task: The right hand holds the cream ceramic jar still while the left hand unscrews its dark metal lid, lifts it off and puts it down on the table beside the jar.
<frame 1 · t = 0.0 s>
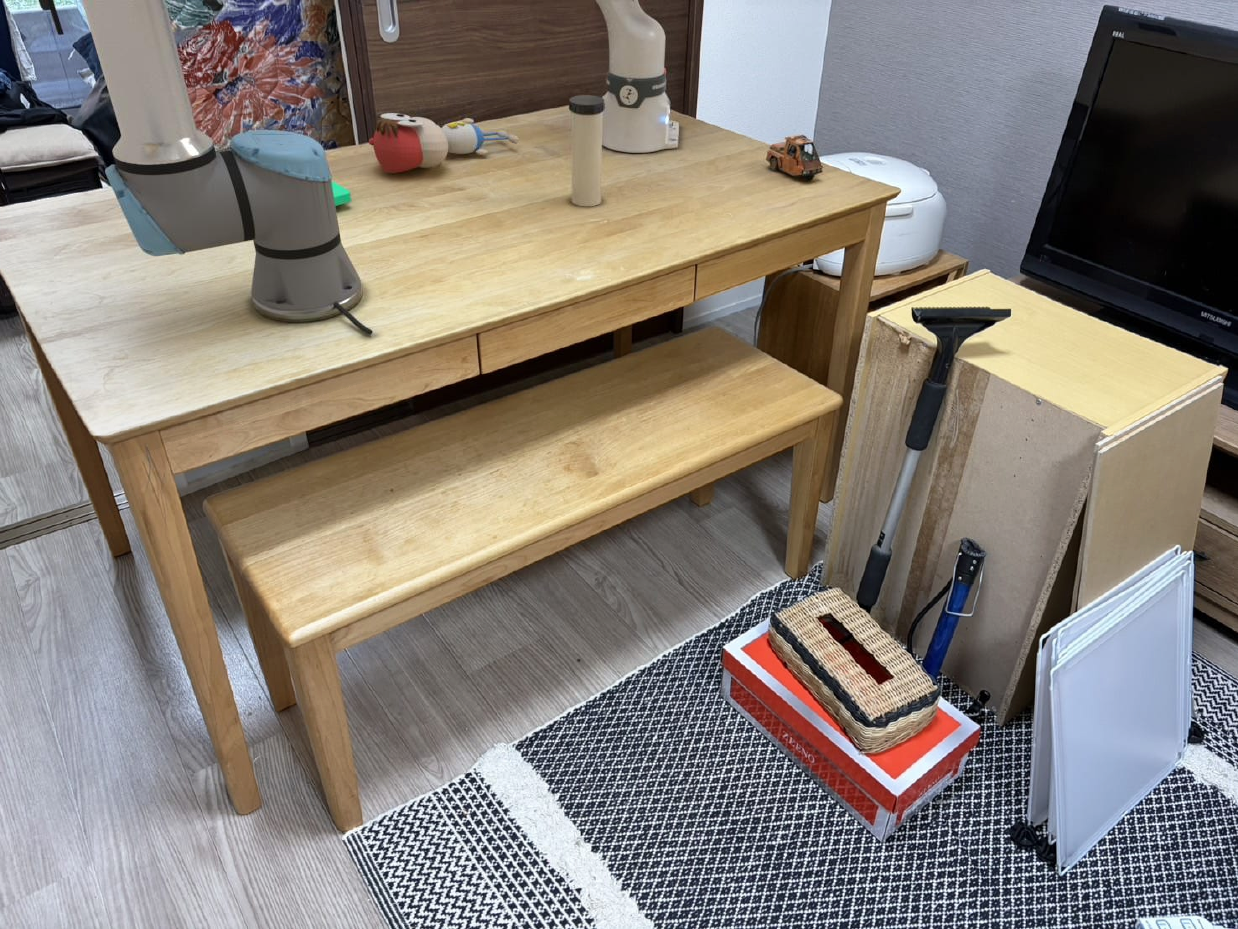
left hand: (108, 29, 146), 28 cm above the table, tool pointing down, fingers open, 13 cm apart
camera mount: (318, 203, 164), on the table
lid: (586, 102, 158), point 17 cm above the table, screwed on, not yet turned
toy: (446, 159, 184), on the table
jar: (586, 200, 168), on the table
toy car: (793, 173, 182), on the table
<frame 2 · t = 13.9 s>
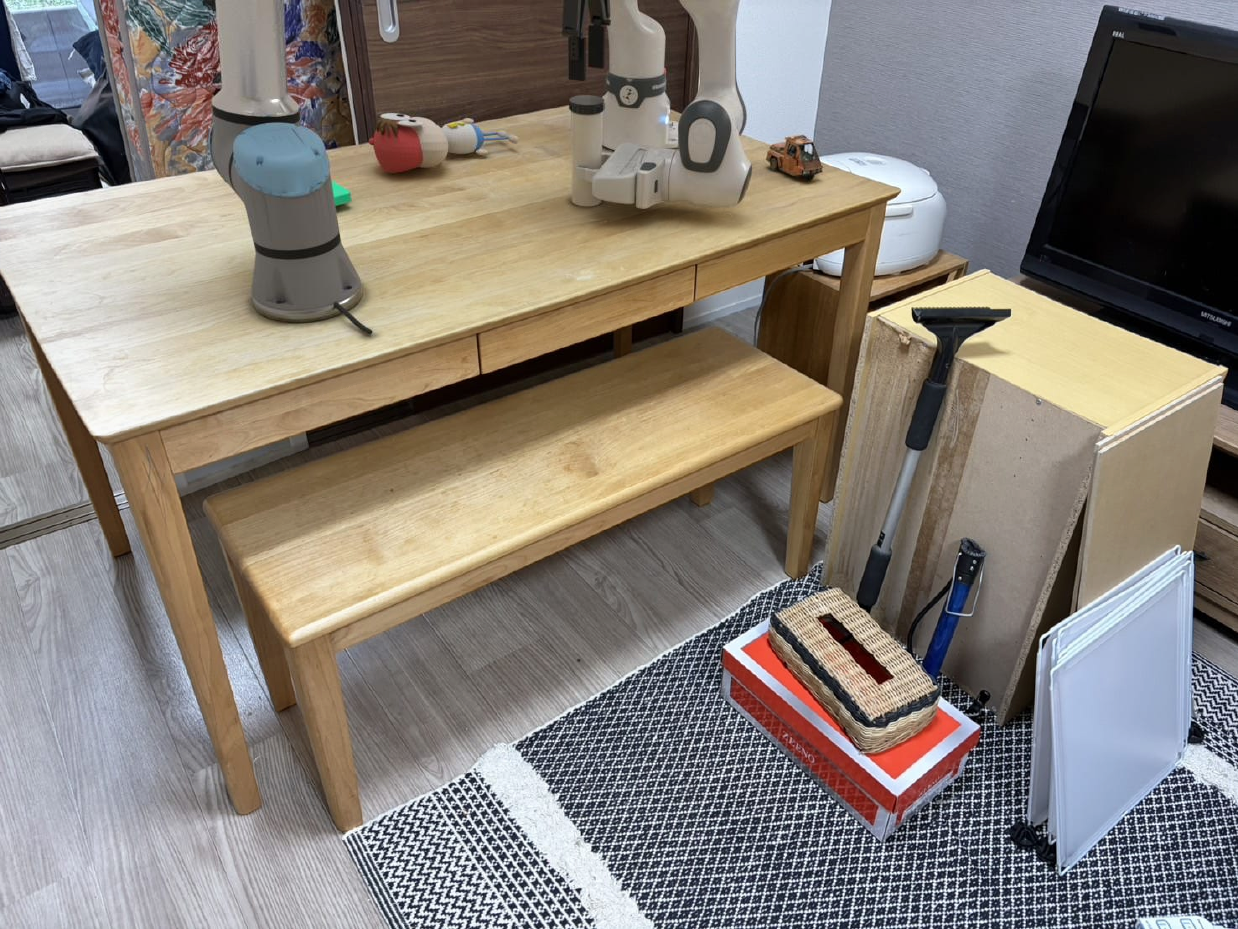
left hand: (586, 73, 155), 22 cm above the table, tool pointing down, fingers open, 8 cm apart
right hand: (581, 165, 164), 6 cm above the table, tool horizontal, fingers closed on jar, 5 cm apart
jar: (586, 200, 168), on the table, touching right hand
everything else where it was.
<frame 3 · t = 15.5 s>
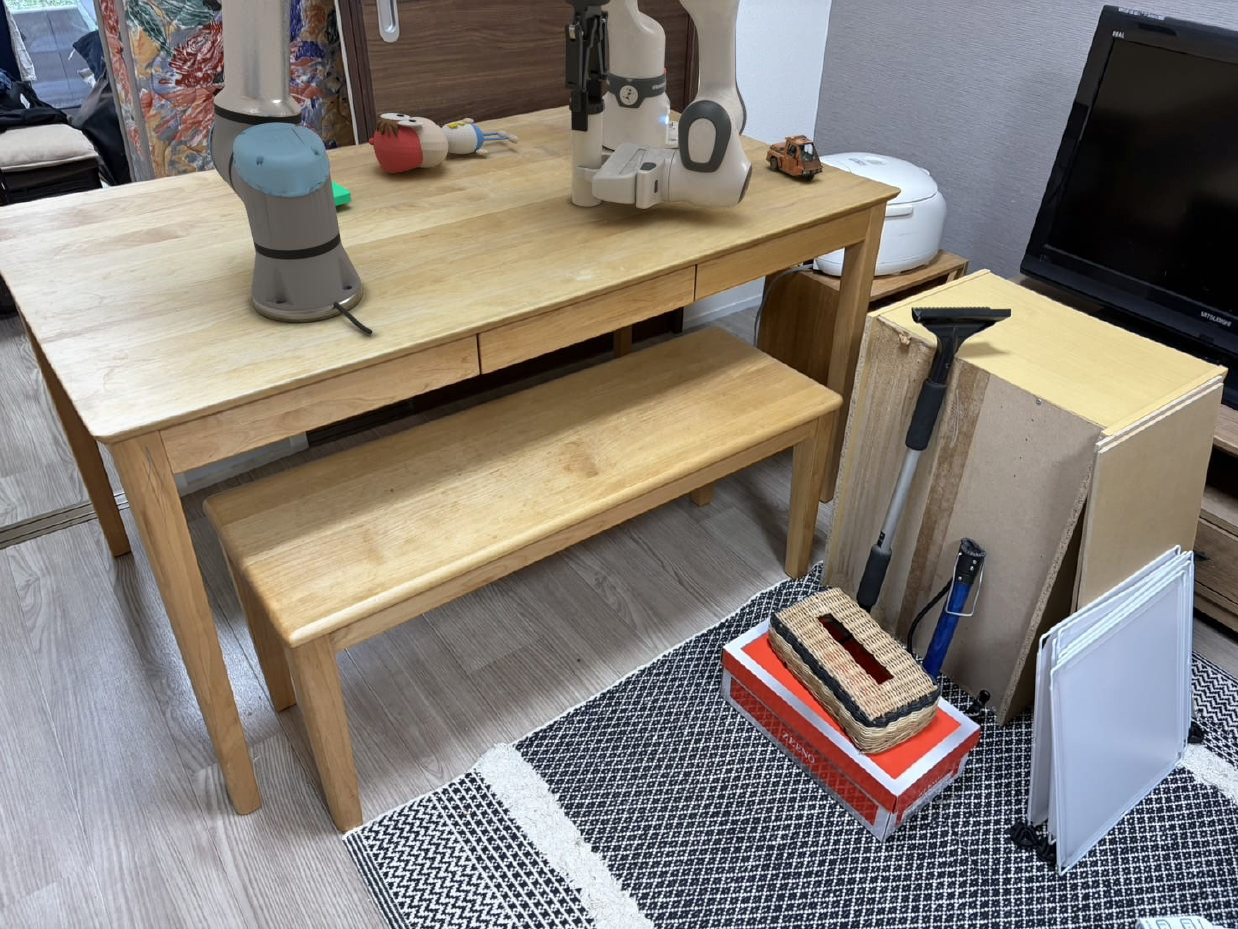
left hand: (586, 124, 160), 14 cm above the table, tool pointing down, fingers closed on lid, 6 cm apart
right hand: (581, 165, 164), 6 cm above the table, tool horizontal, fingers closed on jar, 5 cm apart
lid: (586, 102, 158), point 17 cm above the table, screwed on, not yet turned, touching left hand
jar: (586, 201, 168), on the table, touching right hand
everything else where it was.
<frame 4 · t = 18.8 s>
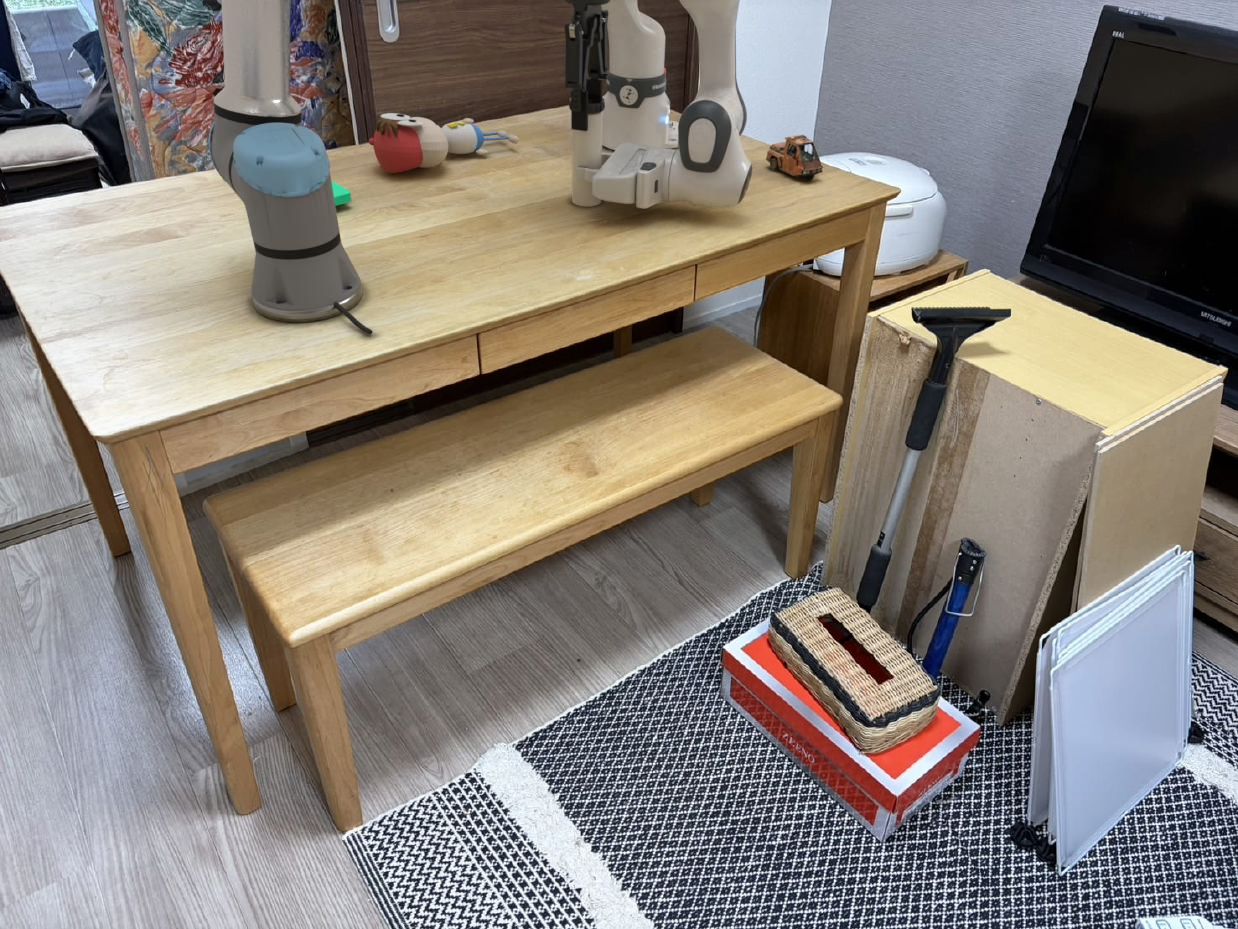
left hand: (586, 123, 160), 14 cm above the table, tool pointing down, fingers closed on lid, 6 cm apart
right hand: (581, 165, 164), 6 cm above the table, tool horizontal, fingers closed on jar, 5 cm apart
lid: (586, 101, 158), point 17 cm above the table, turned 94° so far, risen 0.1 cm, still on its thread, touching left hand
jar: (586, 201, 168), on the table, touching right hand
everything else where it was.
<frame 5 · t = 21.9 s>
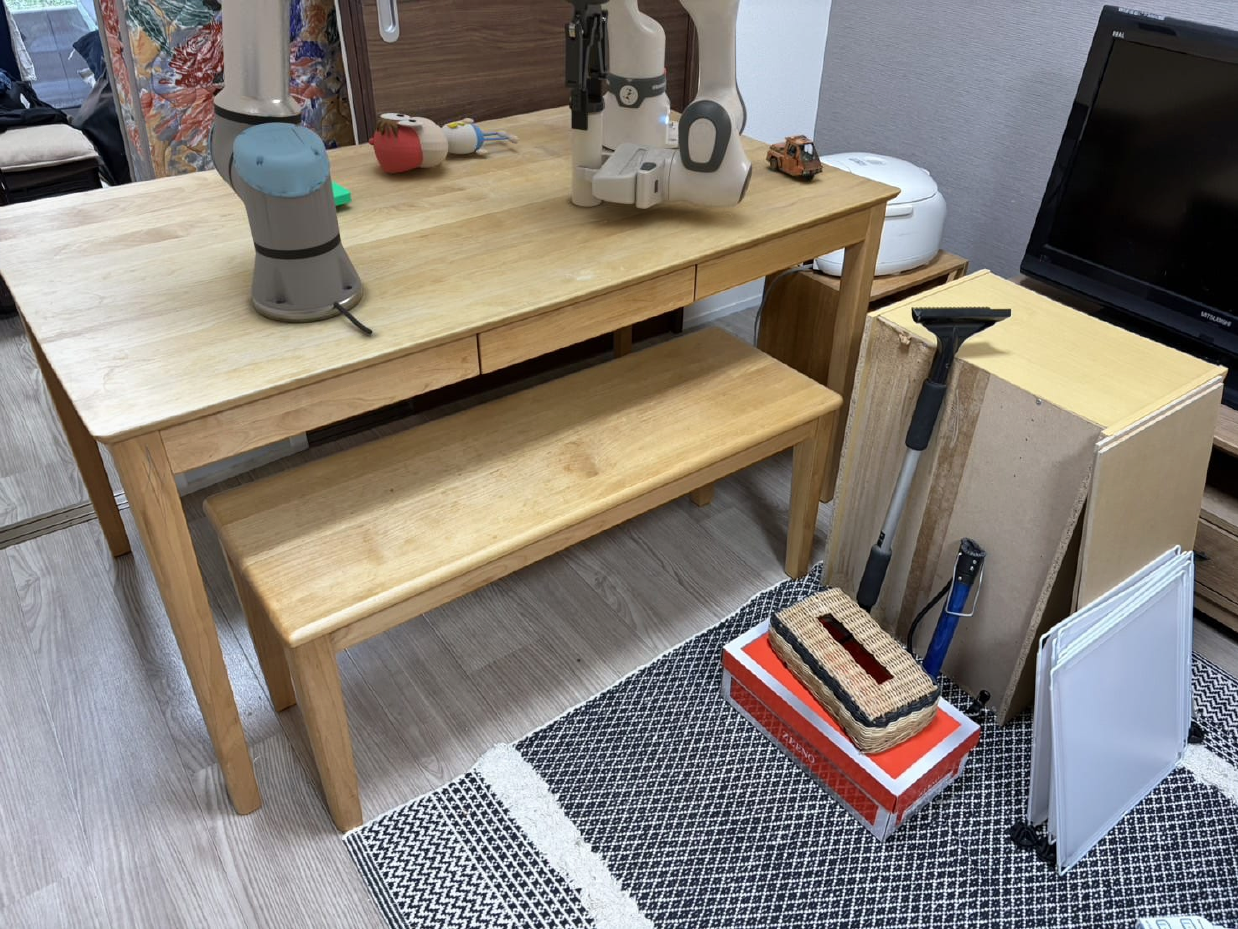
left hand: (586, 123, 160), 14 cm above the table, tool pointing down, fingers closed on lid, 6 cm apart
right hand: (581, 165, 164), 6 cm above the table, tool horizontal, fingers closed on jar, 5 cm apart
lid: (586, 100, 157), point 18 cm above the table, turned 189° so far, risen 0.2 cm, still on its thread, touching left hand
jar: (586, 201, 168), on the table, touching right hand
everything else where it was.
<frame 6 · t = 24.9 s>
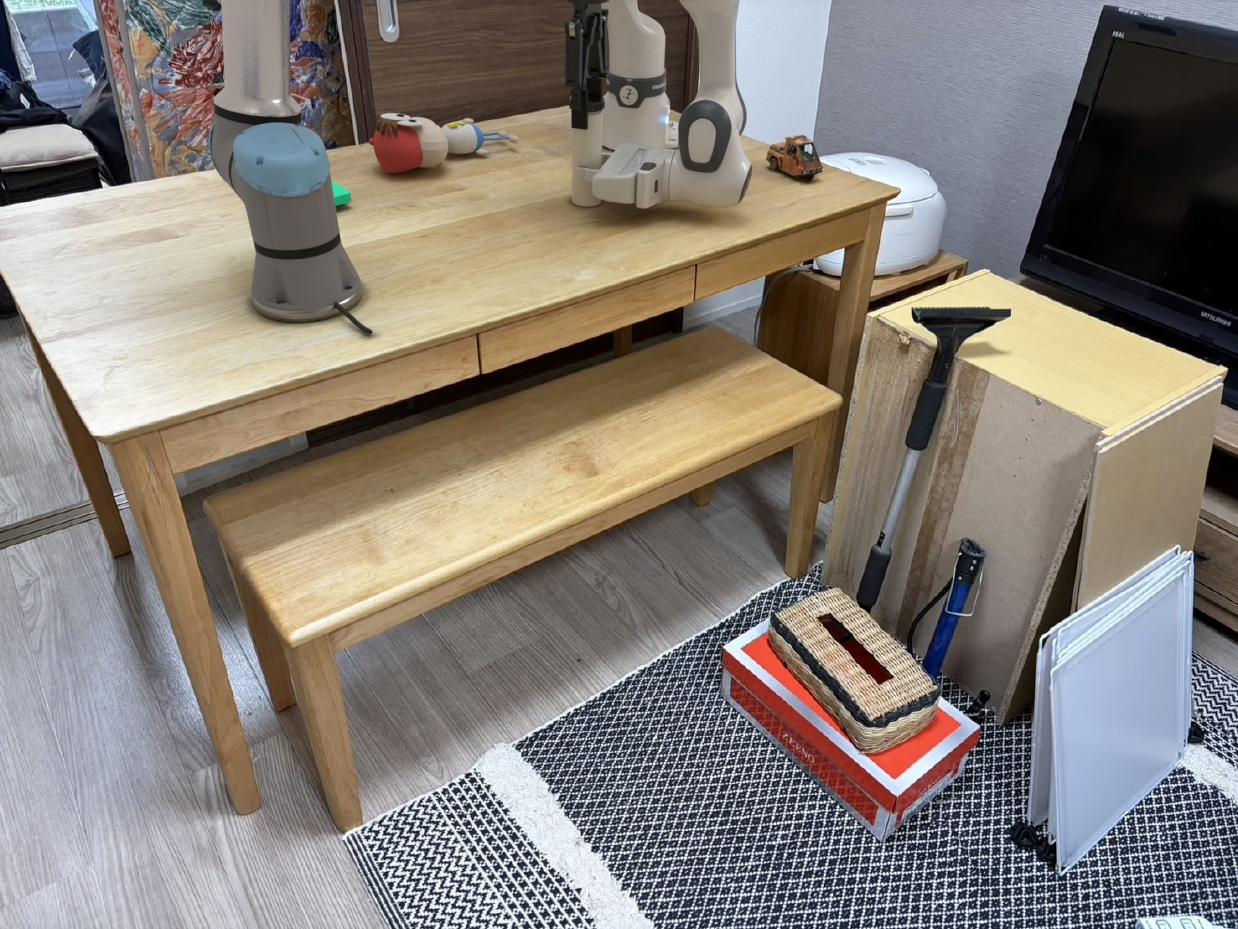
left hand: (586, 122, 160), 14 cm above the table, tool pointing down, fingers closed on lid, 6 cm apart
right hand: (581, 165, 164), 6 cm above the table, tool horizontal, fingers closed on jar, 5 cm apart
lid: (586, 100, 157), point 18 cm above the table, turned 283° so far, risen 0.3 cm, still on its thread, touching left hand
jar: (586, 201, 168), on the table, touching right hand
everything else where it was.
when the left hand's fingers open (0 cm above the table, at t = 32.3 s): lid drops 3 cm, point 1 cm above the table.
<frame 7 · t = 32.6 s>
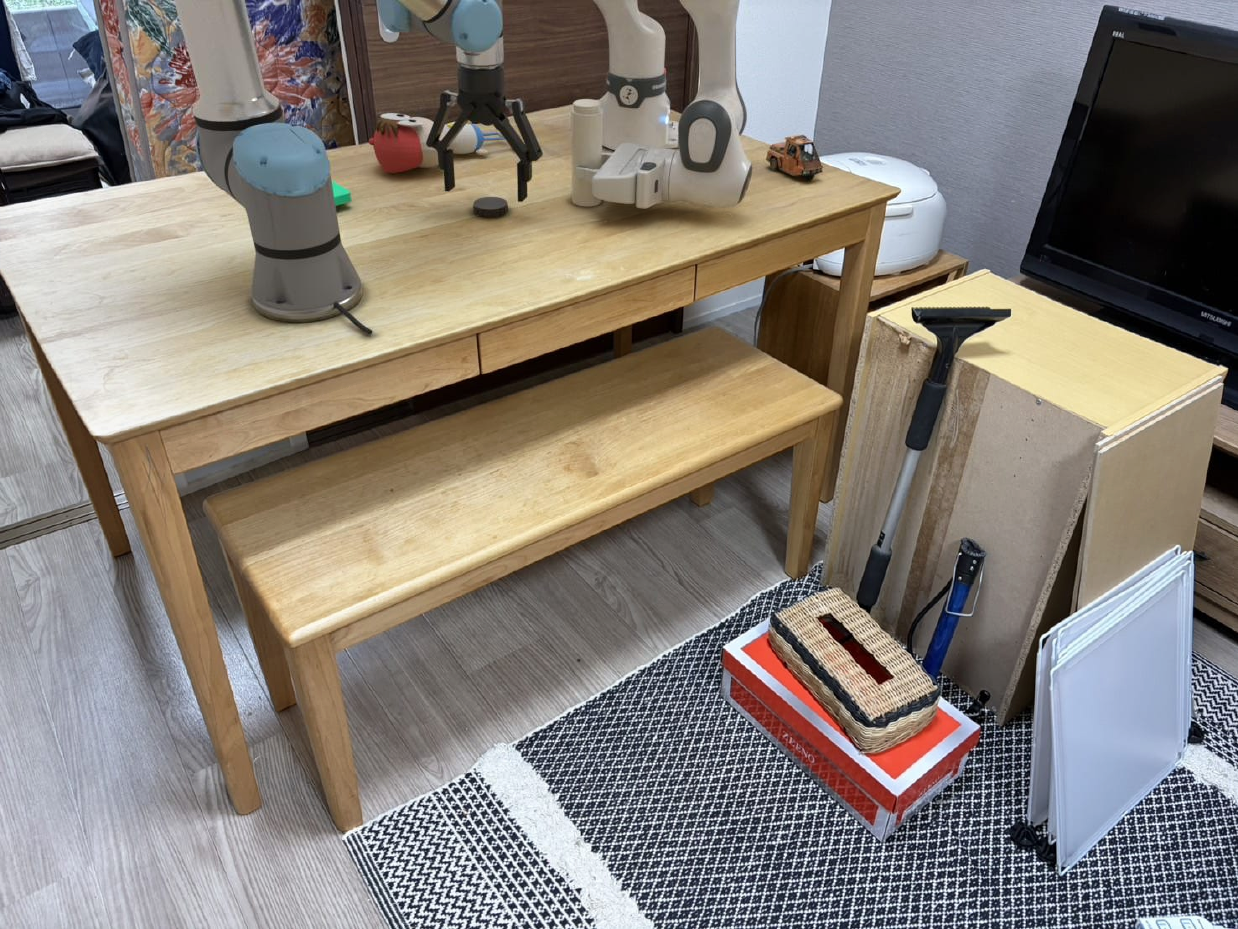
left hand: (486, 194, 161), 3 cm above the table, tool pointing down, fingers open, 13 cm apart
right hand: (581, 165, 164), 6 cm above the table, tool horizontal, fingers closed on jar, 5 cm apart
lid: (490, 204, 162), point 1 cm above the table, off its thread
jar: (586, 201, 168), on the table, touching right hand
everything else where it was.
when the right hand's fingers open (6 cm above the table, at t = 33.1 s): jar stays where it is, on the table.
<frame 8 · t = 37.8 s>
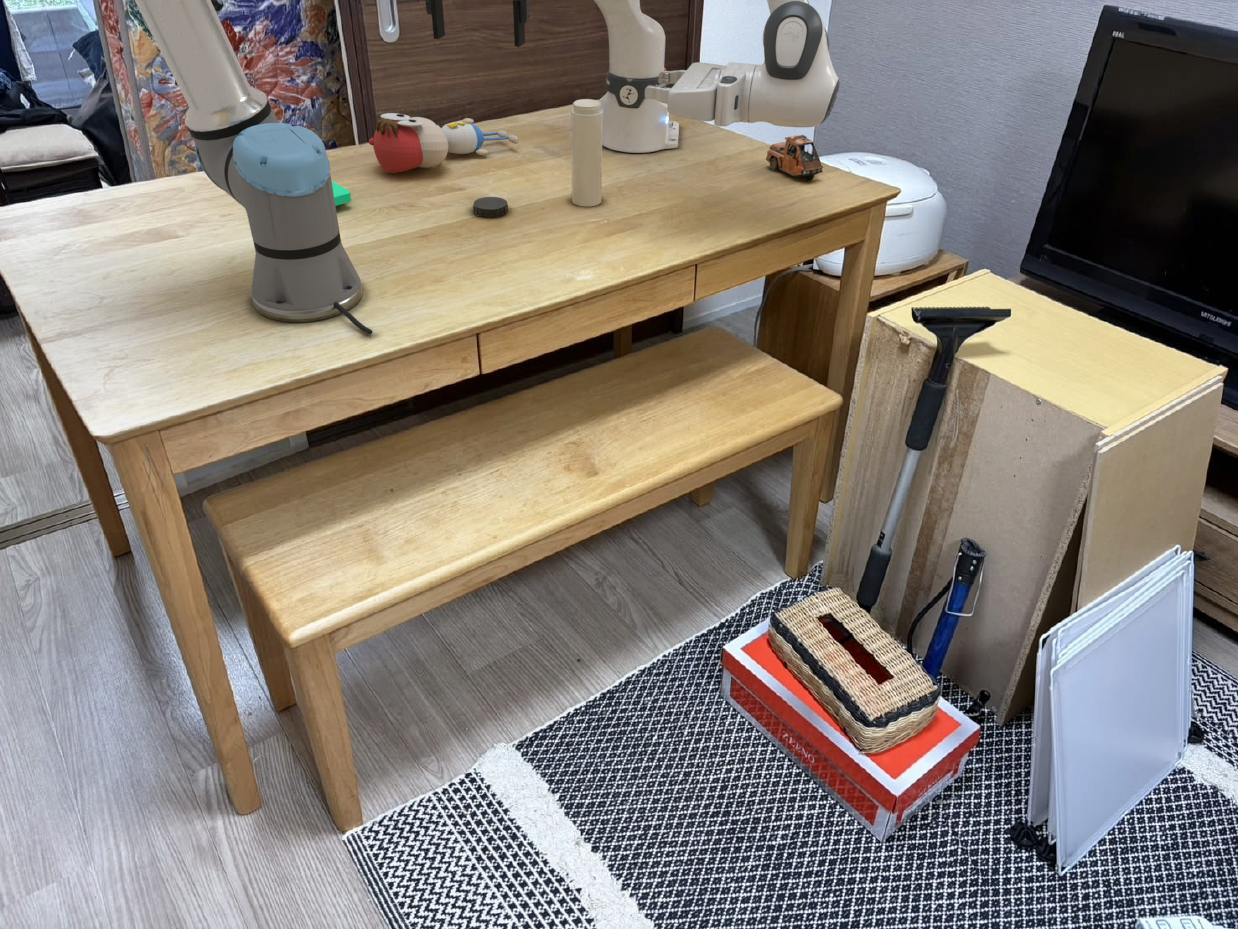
left hand: (479, 41, 146), 28 cm above the table, tool pointing down, fingers open, 13 cm apart
right hand: (652, 84, 153), 21 cm above the table, tool horizontal, fingers open, 8 cm apart
jar: (586, 201, 168), on the table
everything else where it was.
at the end: lid came off its thread; lid point 1.2 cm above the table; the left hand is holding nothing; the right hand is holding nothing; jar tilted 0°; jar moved 0.0 cm from its start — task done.
